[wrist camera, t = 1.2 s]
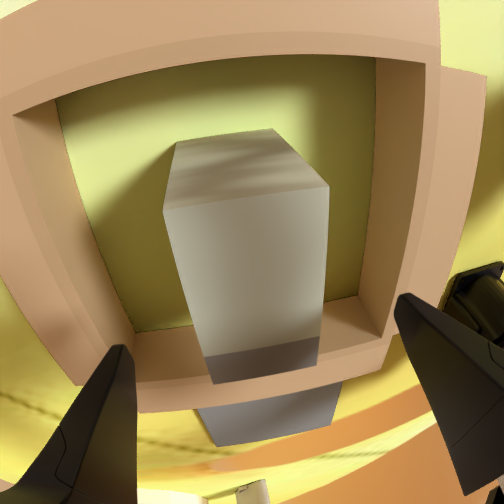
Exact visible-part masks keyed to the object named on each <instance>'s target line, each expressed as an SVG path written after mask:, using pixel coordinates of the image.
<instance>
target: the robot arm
mask: <svg viewBox="0 0 504 504" xmlns="http://www.w3.org/2000/svg"><path fill="white" fill-rule="evenodd" d="M503 270H504V263H503V262H502V261H500V262H497V263H494V264H491V265H488V266H484V267H481V268H478V269H474V270H471V271H468V272H464V273H461V274H459V275H458V276H457V278H456V280H455V282H454V285H453V288H452V290H451V293H450V296H449V298H448V301H447V303H446V306H445V308H444V311H443V312H442V311H440V310H439V309H437V308H435V307H434V306H432V305H430V304H429V303H427V302H425V301H424V300H422V299H420V298H419V297H417V296H415V295H414V294H412V293H409V292H408V293H404V294H400V295H399V296H398V298H397V301H396V305H395V308H394V319H395V322H396V325H397V327H398V330H399V333H400V335H401V338H402V341H403V344H404V347H405V350H406V352H407V355H408V357H409V359H410V361H411V364H412V366H413V368H414V370H415V372H416V374H417V377H418V379H419V381H420V383H421V385H422V388H423V390H424V392H425V394H426V397H427V399H428V401H429V404H430V406H431V408H432V411H433V413H434V416H435V418H436V420H437V423H438V425H439V428H440V430H441V433H442V435H443V438H444V441H445V443H446V446H447V448H448V451H449V454H450V456H451V459H452V462H453V465H454V468H455V470H456V473H457V476H458V479H459V482H460V485H461V488H462V491H463V494H464V496H467V495H469V494H471V493H473V492H474V491H476V490H478V489H480V488H481V487H484V486H485V485H487V484H489V483H490V482H492V481H494V480H495V479H497V480H498V482H499V485H498V486H496V487H495V488H494V489H492V490H491V491H490V492H489V495H488V498H487V501H486V504H504V282H503V281H502V280H501V279H500V277H501V275H502V273H503ZM59 425H60V426H58V427H57V428H56V430H55V432H54V433H53V435H52V436H51V438H50V439H49V441H48V442H47V444H46V445H45V447H44V448H43V450H42V451H41V452H40V454H39V455H38V456H37V458H36V459H35V460H34V462H33V463H32V464H31V466H30V467H29V468H28V470H27V471H26V472H25V474H24V475H23V476H22V478H21V479H20V480H19V481H18V482H17V483H16V484H15V485H14V486H13V487H11V488H9V489H8V490H5V491H3V492H0V504H138V499H137V392H136V376H135V362H134V359H133V357H132V355H131V354H130V352H129V350H128V348H127V347H126V345H125V344H114V345H112V346H111V347H110V349H109V350H108V351H107V353H106V354H105V356H104V357H103V359H102V360H101V362H100V363H99V365H98V366H97V367H96V369H95V370H94V372H93V373H92V375H91V376H90V378H89V379H88V381H87V382H86V384H85V385H84V387H83V388H82V390H81V391H80V393H79V394H78V396H77V397H76V399H75V400H74V402H73V403H72V405H71V407H70V408H69V410H68V411H67V413H66V414H65V416H64V417H63V419H62V421H61V422H60V424H59Z"/></svg>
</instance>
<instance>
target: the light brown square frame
mask: <svg viewBox="0 0 504 504" xmlns="http://www.w3.org/2000/svg"><path fill="white" fill-rule="evenodd" d="M285 54H335V55H356V56H370V57H375V60H376V111H375V139H374V158H373V172H372V185H371V196H370V206H369V216H368V225H367V233H366V241H365V249H364V256H363V263H362V269H361V276H360V282H359V288H358V294H357V296H352V297H347V298H343V299H338V300H333V301H329V302H324V303H323V310H322V321H321V331H320V340H319V349H318V358H317V366H312V367H308V368H304V369H299V370H294V371H290V372H285V373H280V374H275V375H270V376H264V377H259V378H253V379H247V380H241V381H235V382H229V383H222V384H215V385H213V383H212V380H211V377H210V374H209V371H208V368H207V365H206V362H205V359H204V356H203V353H202V350H201V347H200V344H199V341H198V337H197V334H196V331H195V328H194V325H193V326H186V327H179V328H171V329H164V330H156V331H148V332H140V333H135V331H134V329H133V327H132V325H131V323H130V321H129V319H128V316H127V314H126V312H125V310H124V308H123V306H122V303H121V301H120V299H119V297H118V294H117V292H116V290H115V287H114V285H113V283H112V280H111V278H110V276H109V273H108V271H107V268H106V266H105V263H104V261H103V258H102V256H101V253H100V251H99V248H98V245H97V243H96V240H95V237H94V235H93V232H92V229H91V226H90V224H89V221H88V218H87V215H86V212H85V209H84V206H83V203H82V200H81V197H80V194H79V191H78V187H77V184H76V181H75V178H74V174H73V171H72V167H71V164H70V160H69V156H68V153H67V149H66V145H65V141H64V137H63V133H62V129H61V125H60V121H59V116H58V112H57V107H56V102H55V98H57V97H59V96H62V95H65V94H68V93H71V92H74V91H77V90H80V89H83V88H87V87H90V86H93V85H96V84H100V83H103V82H107V81H111V80H114V79H118V78H122V77H126V76H130V75H134V74H139V73H143V72H148V71H152V70H157V69H162V68H167V67H173V66H178V65H184V64H190V63H197V62H204V61H211V60H219V59H228V58H238V57H249V56H264V55H285ZM486 81H487V76H484V75H480V74H476V73H472V72H468V71H463V70H459V69H454V68H449V67H444V66H441V44H440V19H439V5H438V0H38V1H36V2H33V3H31V4H29V5H27V6H25V7H23V8H21V9H19V10H17V11H15V12H13V13H11V14H10V15H8V16H6V17H4V18H2V19H0V276H1V278H2V280H3V281H4V283H5V285H6V287H7V288H8V290H9V292H10V294H11V295H12V297H13V299H14V300H15V302H16V304H17V305H18V307H19V309H20V310H21V312H22V313H23V315H24V316H25V318H26V320H27V321H28V323H29V324H30V326H31V327H32V329H33V330H34V332H35V333H36V334H37V336H38V337H39V339H40V340H41V342H42V343H43V344H44V346H45V347H46V349H47V350H48V351H49V353H50V354H51V355H52V357H53V358H54V359H55V361H56V362H57V363H58V365H59V366H60V367H61V369H62V370H63V371H64V372H65V374H66V375H67V376H68V377H69V379H70V380H71V381H72V382H73V383H74V385H75V386H84V385H85V384H86V382H87V381H88V379H89V378H90V376H91V375H92V373H93V372H94V370H95V369H96V367H97V366H98V365H99V363H100V362H101V360H102V359H103V357H104V356H105V354H106V353H107V351H108V350H109V349H110V347H111V346H112V345H114V344H125V345H126V347H127V348H128V350H129V352H130V354H131V355H132V357H133V359H134V362H135V376H136V392H137V410H138V412H139V413H155V412H168V411H179V410H189V409H198V408H206V407H214V406H222V405H228V404H235V403H241V402H248V401H253V400H259V399H265V398H270V397H275V396H280V395H285V394H290V393H294V392H299V391H303V390H308V389H312V388H316V387H320V386H324V385H328V384H332V383H336V382H340V381H344V380H347V379H351V378H355V377H358V376H361V375H365V374H368V373H372V372H375V371H378V370H380V369H381V367H382V364H383V362H384V359H385V356H386V353H387V351H388V348H389V345H390V342H391V339H392V336H393V335H395V334H398V333H399V330H398V327H397V325H396V322H395V319H394V308H395V305H396V301H397V298H398V296H399V295H400V294H404V293H408V292H409V293H412V294H414V295H415V296H417V297H419V298H420V299H422V300H424V301H425V302H427V303H429V304H430V305H432V306H434V307H435V308H437V307H438V304H439V302H440V299H441V296H442V294H443V291H444V288H445V285H446V282H447V280H448V277H449V274H450V271H451V268H452V265H453V261H454V258H455V255H456V252H457V248H458V245H459V242H460V238H461V235H462V231H463V227H464V223H465V219H466V216H467V211H468V207H469V203H470V199H471V194H472V189H473V185H474V180H475V174H476V169H477V163H478V157H479V151H480V144H481V137H482V129H483V120H484V110H485V98H486Z"/></svg>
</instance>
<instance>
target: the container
mask: <svg viewBox="0 0 504 504" xmlns="http://www.w3.org/2000/svg"><path fill="white" fill-rule="evenodd" d="M137 499H138V504H209V503H208V499H205V498H203V497H200V496H198V495H196V494H188V493H181V492H175V491H169V490H153V489H141V488H137Z"/></svg>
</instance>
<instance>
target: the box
mask: <svg viewBox="0 0 504 504" xmlns="http://www.w3.org/2000/svg"><path fill="white" fill-rule="evenodd" d="M329 194H330V186H329V185H328V184H327V183H326V182H325V181H324V180H323V179H322V178H321V177H320V176H319V175H318V173H317V172H316V171H315V170H314V169H313V168H312V167H311V166H310V165H309V164H308V163H307V162H306V161H305V160H304V159H303V158H302V157H301V156H300V155H299V154H298V153H297V152H296V151H295V150H294V149H293V148H292V147H291V146H290V145H289V144H288V143H287V142H286V141H285V140H284V139H283V138H282V137H281V136H280V135H279V134H278V133H277V132H276V131H275V130H274V129H264V130H255V131H246V132H238V133H230V134H223V135H216V136H209V137H203V138H196V139H190V140H185V141H179V142H176V147H175V151H174V156H173V160H172V165H171V169H170V174H169V179H168V184H167V189H166V194H165V199H164V205H163V210H162V212H163V216H164V220H165V224H166V228H167V232H168V236H169V240H170V244H171V247H172V251H173V255H174V259H175V262H176V266H177V270H178V273H179V277H180V281H181V284H182V288H183V291H184V295H185V298H186V301H187V305H188V308H189V312H190V315H191V318H192V321H193V325H194V328H195V331H196V334H197V337H198V341H199V344H200V347H201V350H202V353H203V356H204V359H205V362H206V365H207V368H208V371H209V374H210V377H211V380H212V383H213V385H215V384H222V383H229V382H235V381H241V380H247V379H253V378H259V377H264V376H270V375H275V374H280V373H285V372H290V371H294V370H299V369H304V368H308V367H312V366H317V358H318V349H319V340H320V331H321V321H322V310H323V299H324V286H325V273H326V258H327V241H328V221H329Z"/></svg>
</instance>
